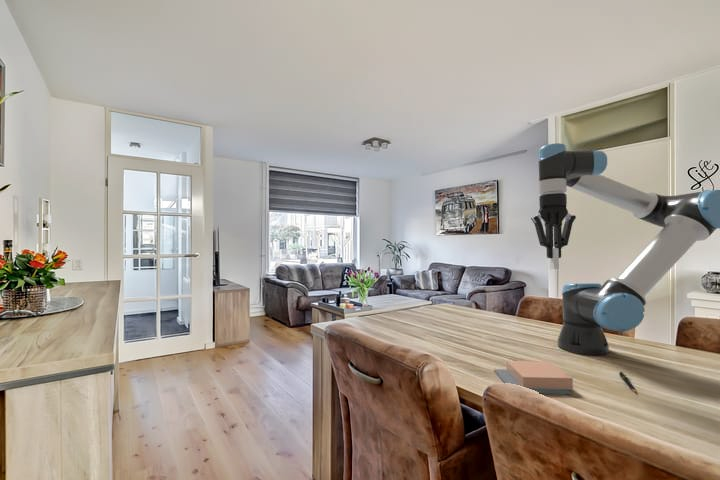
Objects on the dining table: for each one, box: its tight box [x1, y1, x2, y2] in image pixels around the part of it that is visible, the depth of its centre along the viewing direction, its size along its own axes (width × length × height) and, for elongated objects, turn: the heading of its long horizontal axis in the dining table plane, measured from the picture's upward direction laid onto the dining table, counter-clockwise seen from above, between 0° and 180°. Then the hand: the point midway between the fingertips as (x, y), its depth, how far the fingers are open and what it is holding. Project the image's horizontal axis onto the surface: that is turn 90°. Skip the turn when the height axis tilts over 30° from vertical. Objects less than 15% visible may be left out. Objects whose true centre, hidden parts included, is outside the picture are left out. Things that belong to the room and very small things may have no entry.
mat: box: [493, 368, 572, 396], centre depth 93 cm, size 14×15×1 cm
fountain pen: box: [618, 371, 636, 392], centre depth 91 cm, size 14×1×2 cm, turn 155°
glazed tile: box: [506, 360, 574, 391], centre depth 93 cm, size 3×12×12 cm
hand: (554, 268), depth 109 cm, fingers closed
